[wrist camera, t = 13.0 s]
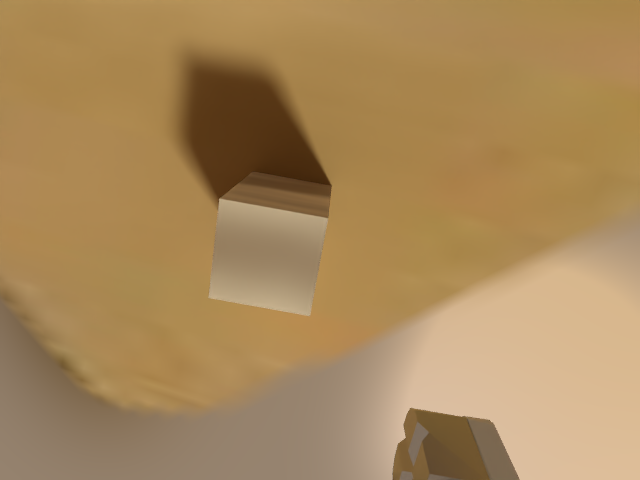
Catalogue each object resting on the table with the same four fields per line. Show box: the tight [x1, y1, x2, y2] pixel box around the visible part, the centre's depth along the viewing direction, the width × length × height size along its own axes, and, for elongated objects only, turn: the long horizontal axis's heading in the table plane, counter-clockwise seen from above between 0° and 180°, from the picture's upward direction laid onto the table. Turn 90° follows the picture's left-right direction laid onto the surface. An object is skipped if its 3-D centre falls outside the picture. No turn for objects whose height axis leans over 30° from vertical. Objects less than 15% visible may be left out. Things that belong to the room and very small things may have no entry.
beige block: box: [209, 171, 332, 316], centre depth 20 cm, size 4×4×6 cm
